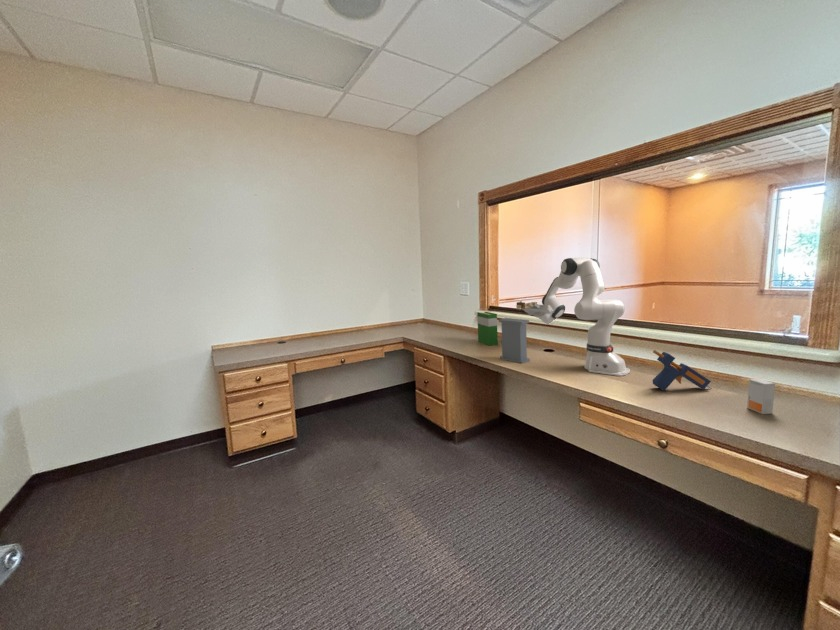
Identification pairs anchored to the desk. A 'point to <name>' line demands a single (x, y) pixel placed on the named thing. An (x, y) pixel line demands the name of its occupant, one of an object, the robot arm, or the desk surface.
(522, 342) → the stand
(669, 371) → the glue gun
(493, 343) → the green white box
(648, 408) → the desk surface
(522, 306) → the marking gauge
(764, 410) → the skincare box
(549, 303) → the robot arm
